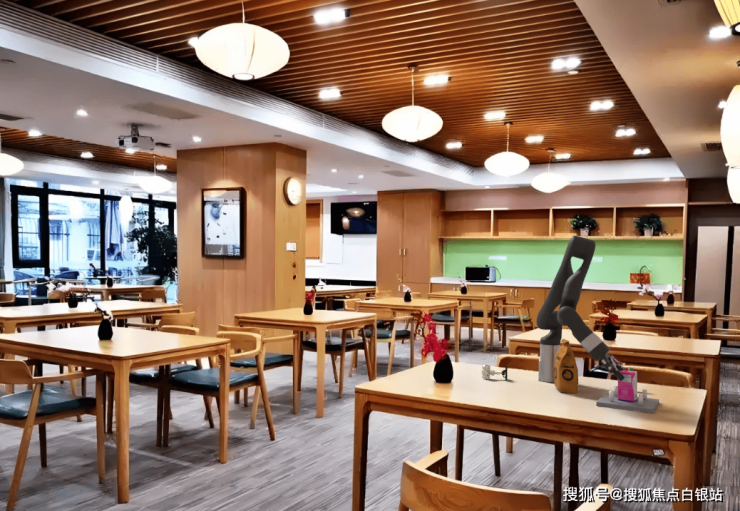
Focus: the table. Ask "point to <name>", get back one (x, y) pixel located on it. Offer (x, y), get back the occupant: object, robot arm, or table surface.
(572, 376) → the coffee package
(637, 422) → the table surface
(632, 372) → the supplement box
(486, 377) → the valve
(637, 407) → the peg cradle
